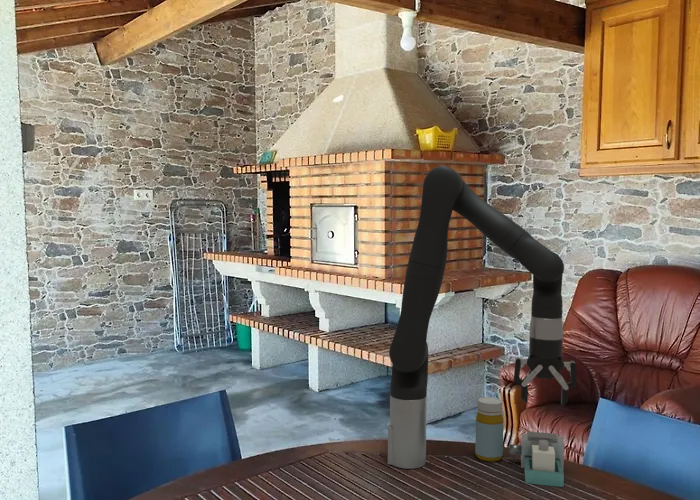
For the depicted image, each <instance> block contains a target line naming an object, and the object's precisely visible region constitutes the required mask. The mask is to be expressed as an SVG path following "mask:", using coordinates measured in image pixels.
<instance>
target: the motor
mask: <svg viewBox="0 0 700 500" xmlns="http://www.w3.org/2000/svg"><path fill="white" fill-rule="evenodd" d="M520 434H521V435H520V437H521V438H520V439H521V440H520V441H521V442H520V444H515V443H514V444H513V443H509V444H508V454H509V455H516V456H517V455H518V456H520V467H521V469H523V470H524V481H525V484H530V485H540V486H551V487H558V488H560V487H561V488H564V486H565V485H564V483H565V474H564V473H565V472H564V468H565V467H564V464H565V463H564V462H565V461H564V459H565V456H564V455H565V442H564V439H563V436H562V435H557V433H554V432H553V433H551V432H550V433H548V432H540V431H527V432H521V433H520ZM539 440H547V441H548V446H550V447H554V451H555V472H551V471H541V470H532V445H539Z"/></svg>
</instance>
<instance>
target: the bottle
mask: <svg viewBox="0 0 700 500" xmlns="http://www.w3.org/2000/svg"><path fill="white" fill-rule="evenodd" d="M504 426H505V425H504V416H503V401H502V399H500V398H497V397H490V396H483V397H479V398H478V399H477V413H476V416H475V445H474V446H475V448H474V449H475V456H476V457H477V459H479V460H480V461H484V462H489V463H491V462H499V461H501V460H502V458H503V456H504Z"/></svg>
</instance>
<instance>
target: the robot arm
mask: <svg viewBox="0 0 700 500" xmlns="http://www.w3.org/2000/svg"><path fill="white" fill-rule="evenodd" d="M453 211H454V212H456V213H457V214H458V215H460V216H462V217H463V218H464V219H465V220H467V221H468V222H470V223H471V224H472V225H473V226H475V228H476V229H477V230H479V232H481V233H482V234H483V236H485V237H486V238H487V239H488V240H489V241H490V242H492V243H493V244H494V245H496V247H498V248H499V249H501V250H502V251H503V252H504V253H506V254H507V255H508V256H510V257H511V258H513V259H515V260H516V261H517V262H518V263H520V264H521V266H522V267H523V268H525V270H526V271H528V272H530V274H531V275H532V285H533V286H532V288H533V290H532V299H531V314H530V322H529V323H530V324H529V344H528V345H529V346H528V347H529V348H528V358H527V359H526V358H521V357H519V356H517V357H515V360H514V361H515V362H514V372H513V373H514V374H513V382H514V384H515V385H519V386H520V389H521V390H520V391H521V393H520V396H521V397H520V398H521V400H522V401H524V403H528V385H529V384H530V383H531V381H533V379H535V378H537V379H547V380H553V379H556V381H557V382H558V383H559V385H560V386H561V391H560V393H561V394H560V397H561V398H560V404H561V406H565V405H566V404H568V402H569V391H570V389H576V388H577V386H578V385H577V384H578V383H577V364H576V362H575V361H574V360H570V361H564V360H563V341H564V338H563V337H564V325H563V297H562V289H563V288H562V287H563V275H564V271H565V264H564V261H563V259H562V257H561V256H560V255H559V254H557V253H555V252H553V251H552V250H550V249H549V248H548V247H547V246H545V245H543V244H542V243H541V242H539V241H538V240H537V239H535V238H534V236H532V234H531V233H529V232H528V231H527V230H525V229H524V228H523V227H521V226H520V225H519V224H517V223H516V222H515V221H514V220H512V219H511V218H509V217H508V216H507V215H505V214H504V213H503V212H501V211H499V210H498V209H497V208H495V207H493V206H492V205H490V204H489V203H488V202H486V201H485V200H484V199H482V197H480V196H479V195H478V194H477V193H476V192H474V190H473V189H472V188H471V187H470V186H469V185H468V184H467V183H466V182H465V180H464V179H463V178H462V176H461V175H460V174H459V172H458V171H456V170H455V169H453V168H452V167H449V166H446V165H438V166H435V167H433V168H432V169H431V170H429V171H428V173H427V174H426V175H425V177H424V180H423V183H422V196H421V205H420V213H419V217H418V218H419V219H418V225H417V227H416V230H415V234H414V237H413V241H412V245H411V249H410V252H409V257H408V261H407V267H406V271H405V277H404V283H403V287H402V288H403V289H402V299H401V307H400V314H399V318H398V322H397V324H396V325H397V326H396V329H395V332H394V334H393V338H392V341H391V344H390V347H389V348H388V349H389V350H388V351H389V352H388V353H389V359H390V362H391V379H390V386H389V425H388V427H387V465H389V466H390V465H392V466H394V467H396V468H401V469H405V470H406V469H410V470H411V469H413V470H414V469H419V468H421V467H422V468H423V467H424V466H425V465H426V460H427V410H428V409H427V407H428V406H427V404H428V399H427V397H428V396H427V395H428V380H429V379H428V378H429V376H428V374H429V346H428V342H427V341H428V340H427V339H428V331H429V330H428V329H429V325H430V320H431V316H432V313H433V310H434V308H435V305H436V303H437V301H438V297H439V294H440V291H441V287H442V284H443V280H444V274H445V270H446V265H447V258H448V245H449V244H448V242H449V241H448V239H449V227H450V221H451V218H452V214H453ZM525 365H527V368H529V371H528V372H527V373H526V375H525V376H524V377H523V378H520V375H521V374H520V373H521V369H522V368H524V367H525ZM563 368H566V370H567V371H568V372H569V381H567V382H566V380H565V379H564V377H563V376H562V374H561V373H560V372H561V371H562V370H563Z"/></svg>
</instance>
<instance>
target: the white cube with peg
mask: <svg viewBox="0 0 700 500" xmlns="http://www.w3.org/2000/svg"><path fill="white" fill-rule="evenodd" d="M532 470H541V471H551V472H555V451H554V447H550V446H548V441H547V440H539V445H532Z"/></svg>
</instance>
